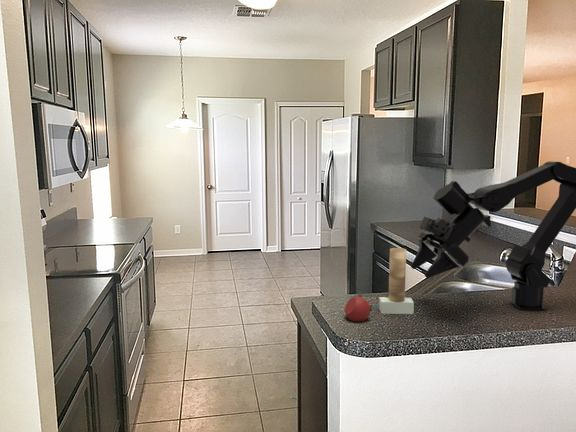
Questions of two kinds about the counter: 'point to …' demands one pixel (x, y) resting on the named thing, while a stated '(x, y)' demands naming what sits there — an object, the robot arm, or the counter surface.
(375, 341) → the counter surface
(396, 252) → the oak post
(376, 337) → the counter surface
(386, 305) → the white block
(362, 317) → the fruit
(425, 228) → the robot arm
